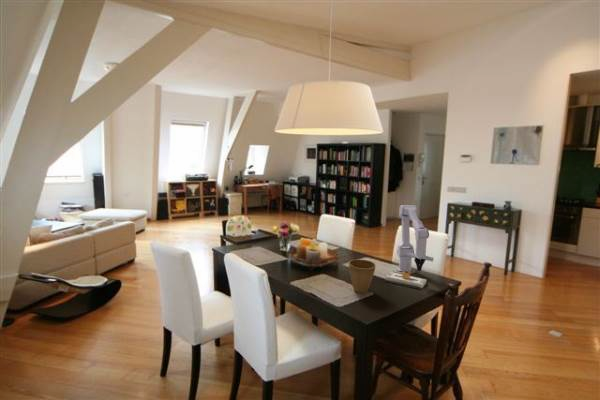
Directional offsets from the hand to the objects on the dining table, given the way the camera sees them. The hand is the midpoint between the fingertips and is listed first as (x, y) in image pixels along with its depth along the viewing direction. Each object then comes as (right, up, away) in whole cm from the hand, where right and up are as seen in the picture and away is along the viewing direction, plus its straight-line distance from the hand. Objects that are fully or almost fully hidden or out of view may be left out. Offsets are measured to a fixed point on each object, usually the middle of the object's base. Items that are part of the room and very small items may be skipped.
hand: (419, 270), depth 196 cm
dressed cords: (-6, -8, +5) cm, 11 cm away
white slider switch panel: (-6, -8, +5) cm, 11 cm away
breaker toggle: (-6, -6, +5) cm, 10 cm away
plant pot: (-37, -10, -9) cm, 39 cm away
